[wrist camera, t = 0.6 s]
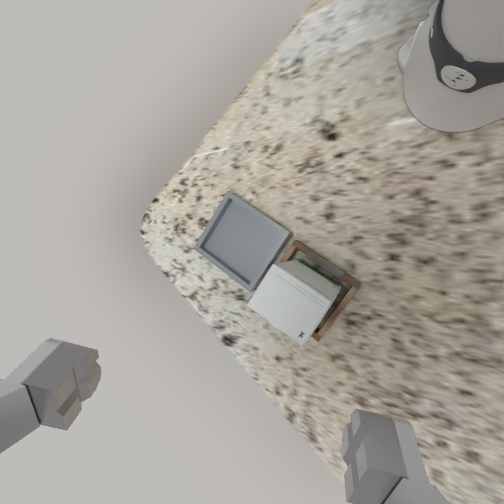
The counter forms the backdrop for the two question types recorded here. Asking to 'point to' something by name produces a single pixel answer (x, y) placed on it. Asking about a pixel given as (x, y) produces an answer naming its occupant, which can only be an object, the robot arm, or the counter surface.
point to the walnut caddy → (331, 269)
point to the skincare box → (294, 298)
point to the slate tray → (242, 241)
